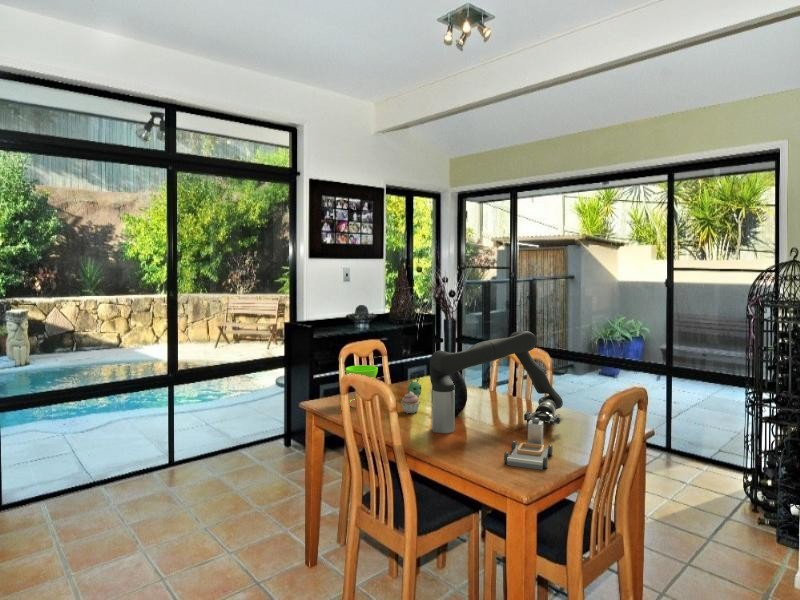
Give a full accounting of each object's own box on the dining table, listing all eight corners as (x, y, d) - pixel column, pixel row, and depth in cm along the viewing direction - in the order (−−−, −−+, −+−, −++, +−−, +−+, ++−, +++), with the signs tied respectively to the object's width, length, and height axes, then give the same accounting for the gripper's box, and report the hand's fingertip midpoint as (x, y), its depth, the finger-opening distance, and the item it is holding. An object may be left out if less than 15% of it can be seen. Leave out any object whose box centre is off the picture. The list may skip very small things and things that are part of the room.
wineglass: (374, 409, 265) (374, 372, 264) (342, 407, 268) (341, 371, 266) (381, 400, 281) (380, 365, 280) (350, 399, 283) (350, 364, 282)
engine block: (541, 448, 209) (541, 420, 208) (527, 446, 210) (528, 419, 210) (543, 444, 213) (543, 417, 212) (529, 442, 215) (530, 416, 214)
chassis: (546, 470, 186) (546, 459, 186) (503, 464, 192) (503, 454, 192) (552, 453, 203) (552, 443, 203) (513, 448, 208) (513, 438, 208)
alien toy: (414, 400, 280) (414, 381, 280) (405, 397, 286) (404, 378, 286) (424, 398, 284) (424, 379, 284) (415, 395, 291) (415, 377, 290)
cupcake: (405, 408, 266) (405, 388, 265) (423, 410, 261) (423, 390, 261) (397, 413, 257) (396, 392, 257) (415, 415, 253) (415, 394, 252)
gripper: (528, 401, 239) (521, 411, 224) (562, 404, 233) (558, 414, 218) (528, 418, 239) (521, 429, 224) (562, 422, 234) (558, 433, 219)
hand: (539, 422), depth 221 cm, fingers open, 8 cm apart
